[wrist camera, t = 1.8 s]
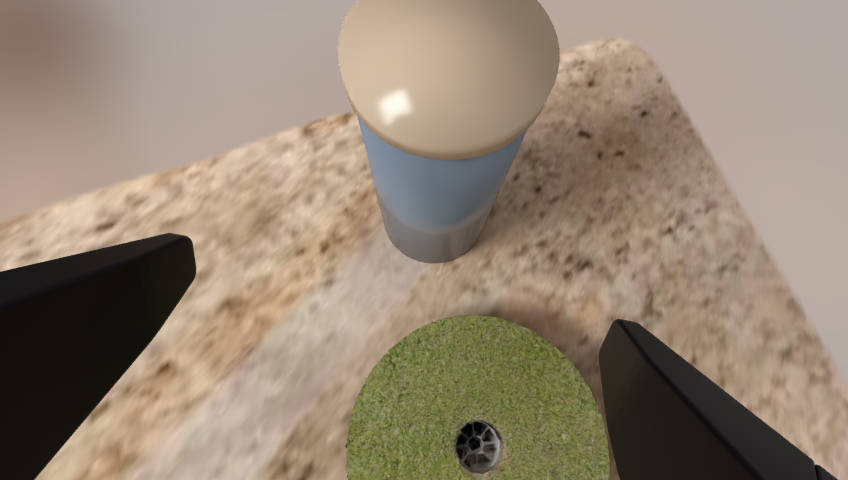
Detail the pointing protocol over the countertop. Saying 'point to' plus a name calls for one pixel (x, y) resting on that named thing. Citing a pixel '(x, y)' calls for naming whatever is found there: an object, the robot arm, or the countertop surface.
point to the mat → (476, 409)
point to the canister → (444, 108)
